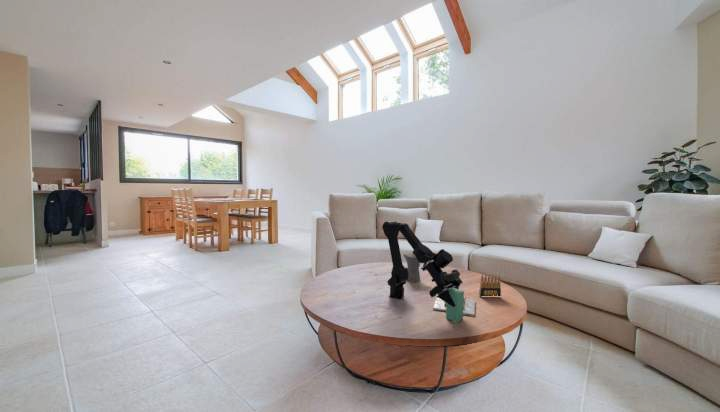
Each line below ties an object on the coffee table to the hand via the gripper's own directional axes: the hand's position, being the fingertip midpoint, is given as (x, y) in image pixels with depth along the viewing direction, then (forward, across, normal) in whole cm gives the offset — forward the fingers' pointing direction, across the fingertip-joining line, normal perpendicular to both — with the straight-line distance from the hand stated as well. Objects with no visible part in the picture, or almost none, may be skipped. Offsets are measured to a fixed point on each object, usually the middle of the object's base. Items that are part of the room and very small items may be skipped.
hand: (457, 305), depth 129 cm
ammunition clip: (+2, +38, +7) cm, 39 cm away
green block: (+4, 0, +6) cm, 7 cm away
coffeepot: (-28, +29, +37) cm, 55 cm away
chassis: (-2, +13, +11) cm, 17 cm away
